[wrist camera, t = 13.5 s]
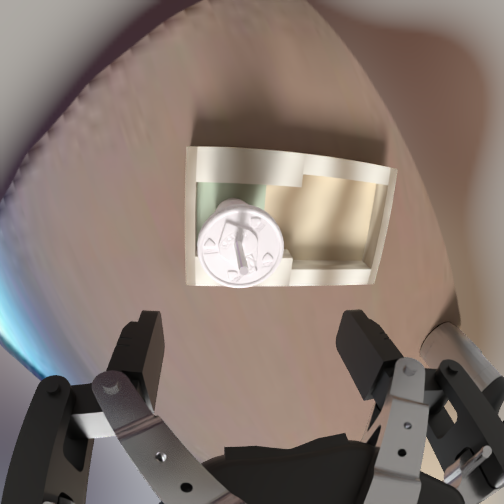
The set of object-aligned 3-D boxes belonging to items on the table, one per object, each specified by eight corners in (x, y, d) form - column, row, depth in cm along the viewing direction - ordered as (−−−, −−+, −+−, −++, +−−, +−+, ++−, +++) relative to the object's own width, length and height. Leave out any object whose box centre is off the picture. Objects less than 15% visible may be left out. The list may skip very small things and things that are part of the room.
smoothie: (247, 174, 28) (277, 205, 15) (272, 228, 30) (315, 296, 17) (191, 202, 28) (171, 257, 15) (219, 254, 30) (224, 337, 18)
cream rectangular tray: (380, 165, 30) (397, 169, 27) (360, 270, 35) (374, 283, 32) (190, 146, 27) (186, 146, 23) (188, 269, 32) (186, 285, 29)
